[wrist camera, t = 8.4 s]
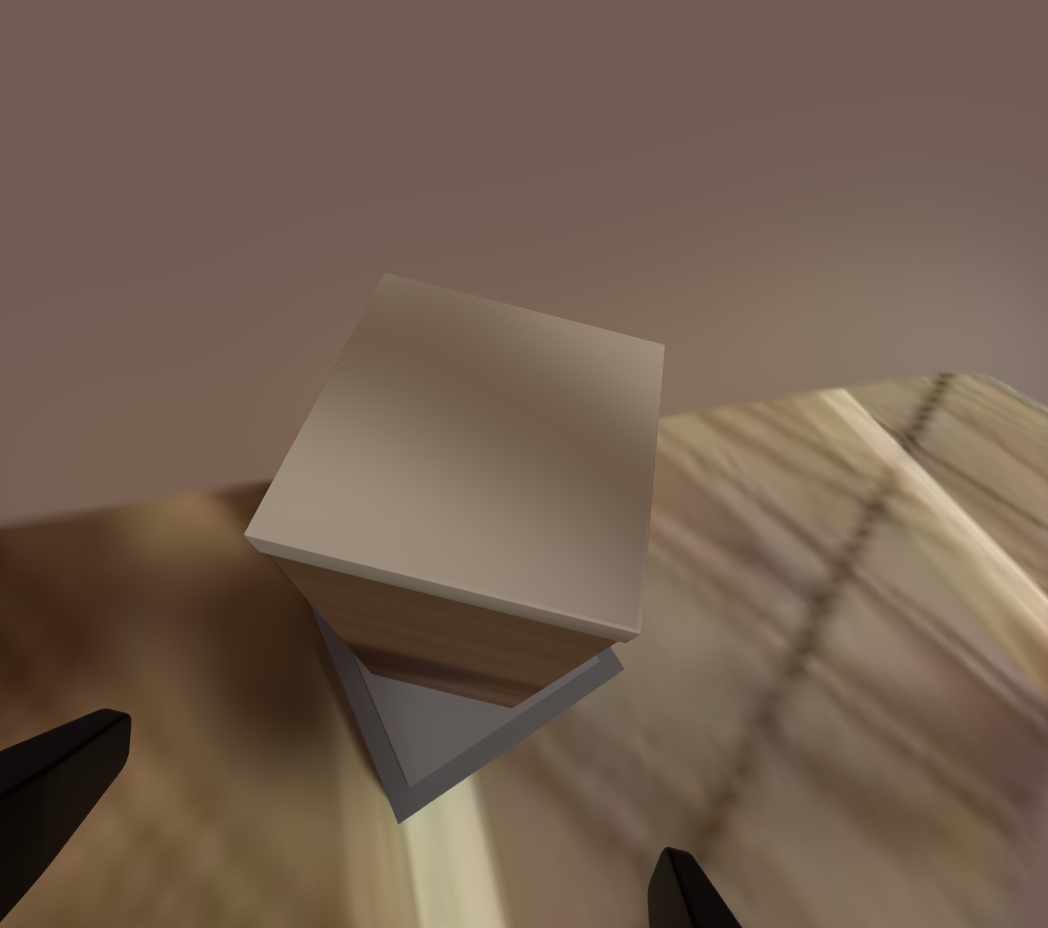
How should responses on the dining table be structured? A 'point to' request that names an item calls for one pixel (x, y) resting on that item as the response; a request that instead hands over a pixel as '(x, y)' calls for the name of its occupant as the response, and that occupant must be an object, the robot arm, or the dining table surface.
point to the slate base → (444, 723)
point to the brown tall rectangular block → (472, 492)
